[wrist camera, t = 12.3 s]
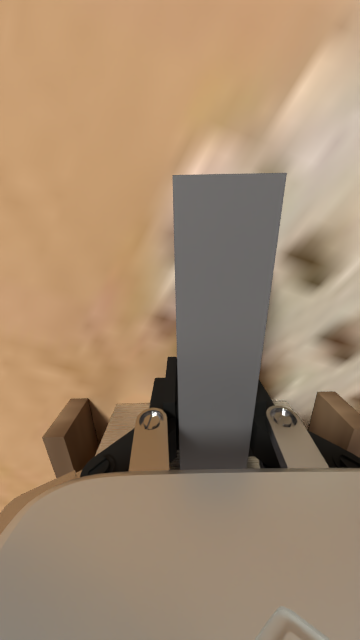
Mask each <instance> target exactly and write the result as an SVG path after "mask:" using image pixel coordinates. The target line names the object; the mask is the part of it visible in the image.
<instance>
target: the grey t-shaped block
mask: <svg viewBox="0 0 360 640" xmlns="http://www.w3.org/2000/svg"><path fill="white" fill-rule="evenodd" d="M286 175H287V173H258V174H208V175H173V211H174V250H175V290H176V330H177V370H178V410H179V450H177V458H175V459H174V460H173V461H172V462H171V463H170V470H199V469H260V466H259V459H257V458H256V457H248V454H249V447H250V439H251V432H252V424H253V417H254V410H255V402H256V395H257V388H258V380H259V373H260V366H261V358H262V351H263V344H264V336H265V329H266V322H267V314H268V307H269V300H270V292H271V285H272V277H273V270H274V263H275V255H276V248H277V241H278V233H279V226H280V219H281V211H282V204H283V197H284V189H285V182H286ZM273 403H274V405H275V406H277V405H278V406H283V407H286V408H288V409H290V410H292V409H291V407H290V406H289V405H288V403H287V402H273ZM149 407H150V404H116V407H115V409H114V411H113V414H112V416H111V419H110V421H109V423H108V426H107V428H106V431H105V433H104V436H103V438H102V440H101V443H100V445H99V448H98V450H97V452H96V455H97V454H99V453H100V452H102V451H103V450H104V449H106V448H107V447H109V446H110V445H111V444H113V443H114V442H116V441H117V440H118V439H120V438H121V437H123V436H124V435H125V434H127V433H128V432H130V431H131V430H132V429H134V428H135V422H136V418H137V416H138V415H139V414H140V413H141V412H142V411H143V410H146V409H148V408H149ZM292 411H293V410H292ZM96 455H95V456H96Z"/></svg>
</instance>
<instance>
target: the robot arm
mask: <svg viewBox="0 0 360 640" xmlns="http://www.w3.org/2000/svg"><path fill="white" fill-rule="evenodd" d="M177 450H179V410H178V370H177V358H176V357H168V360H167V369H166V378H155V381H154V386H153V391H152V396H151V401H150V407H149V408H148V409H146V410H143V411H142V412H141V413H140V414H139V415H138V416H137V418H136V422H135V428H134V429H132V430H131V431H130V432H128V433H127V434H125V435H124V436H123V437H121V438H120V439H118V440H117V441H116V442H114V443H113V444H111V445H110V446H109V447H107V448H106V449H104V450H103V451H102V452H100V453H99V454H97V455H96V456H95V457H93V458H92V459H91V460H90V461H88V462H87V464H86V465H85V466H84V468H83V469H82V470H81V471H79V472H77V473H76V472H75V470H74V471H72V472H70V473H67V474H65V475H63V476H61V477H59V478H56V479H54V480H52V481H50V482H48V483H46V484H43V485H41V486H39V487H37V488H35V489H32V490H30V491H28V492H26V493H24V494H21V495H20V496H18V497H16V498H15V499H13V500H12V501H11V502H10V503H9V504H8V505H7V506H5V508H4V509H3V510H2V512H1V513H0V640H360V458H359V457H358V456H356V455H354V454H353V453H351V452H349V451H347V450H345V449H343V448H341V447H339V446H337V445H335V444H333V443H331V442H330V441H328V440H326V439H324V438H322V437H320V436H318V435H316V434H314V433H312V432H310V431H308V430H306V428H305V426H304V425H303V423H302V421H301V420H300V418H299V417H298V415H297V414H296V413H295V412H293V411H292V410H290V409H288V408H286V407H283V406H278V405H277V406H275V405H274V403H273V402H272V400H271V398H270V397H269V395H268V393H267V392H266V390H265V389H264V387H263V385H262V384H261V382H260V381H259V380H258V388H257V395H256V402H255V410H254V417H253V424H252V432H251V439H250V447H249V454H248V457H256V458H257V459H259V466H260V469H199V470H170V463H171V462H172V461H173V460H174V459H175V458H177Z"/></svg>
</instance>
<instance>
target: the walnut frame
mask: <svg viewBox="0 0 360 640" xmlns="http://www.w3.org/2000/svg"><path fill="white" fill-rule="evenodd" d="M308 431H310V432H312V433H314V434H316V435H318V436H320V437H322V438H324V439H326V440H328V441H330V442H331V443H333V444H335V445H337V446H339V447H341V448H343V449H345V450H347V451H349V452H351V453H353V454H354V455H356V456H358V457H359V458H360V414H359V413H358V412H357V411H356V410H355V409H354V408H353V407H351V406H350V405H349V404H348V403H347V402H346V401H345V400H344V399H343V398H341V397H340V396H339V395H338V394H337V393H336V392H317V396H316V400H315V405H314V409H313V413H312V417H311V421H310V425H309V429H308ZM42 438H43V441H44V444H45V447H46V450H47V453H48V455H49V458H50V461H51V464H52V467H53V470H54V472H55V475H56V478H59V477H61V476H63V475H65V474H67V473H70V472H72V471H74V470H75V472H76V473H77V472H79V471H81V470H82V469H83V468H84V466H85V465H86V464H87V462H88V461H90V460H91V459H92V458H93V457H95V455H96V452H97V450H98V448H99V445H98V441H97V437H96V432H95V428H94V424H93V419H92V415H91V411H90V406H89V402H88V399H70V401H69V402H68V403H67V405H66V406H65V407H64V409H63V410H62V411H61V413H60V414H59V415H58V417H57V418H56V420H55V421H54V422H53V424H52V425H51V426H50V428H49V429H48V430H47V432H46V433H45V434H44V436H43V437H42Z"/></svg>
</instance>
